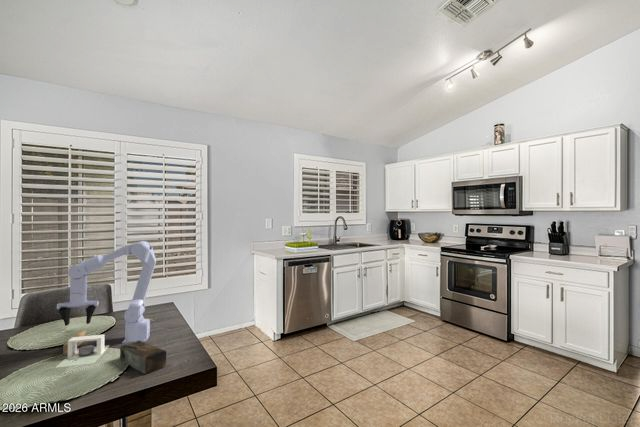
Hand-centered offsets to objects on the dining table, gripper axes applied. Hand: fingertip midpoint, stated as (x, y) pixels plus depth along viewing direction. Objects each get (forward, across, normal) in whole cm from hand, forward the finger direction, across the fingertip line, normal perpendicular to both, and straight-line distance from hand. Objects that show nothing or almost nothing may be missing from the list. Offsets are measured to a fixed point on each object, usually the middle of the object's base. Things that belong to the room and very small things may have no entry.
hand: (77, 324), depth 133 cm
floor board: (+9, -8, +13) cm, 18 cm away
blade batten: (+9, 0, +2) cm, 10 cm away
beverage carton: (+10, -30, +26) cm, 41 cm away
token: (+8, -8, +12) cm, 17 cm away
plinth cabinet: (+9, -8, +12) cm, 17 cm away
